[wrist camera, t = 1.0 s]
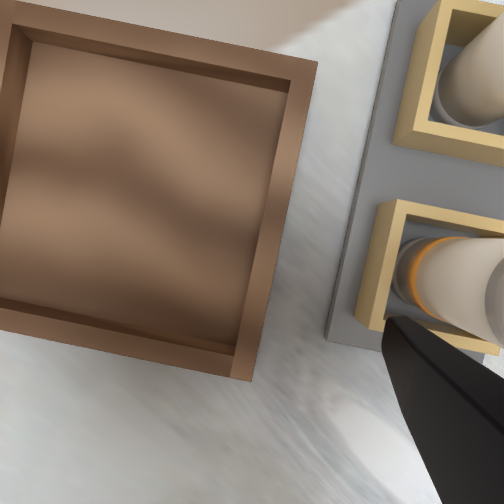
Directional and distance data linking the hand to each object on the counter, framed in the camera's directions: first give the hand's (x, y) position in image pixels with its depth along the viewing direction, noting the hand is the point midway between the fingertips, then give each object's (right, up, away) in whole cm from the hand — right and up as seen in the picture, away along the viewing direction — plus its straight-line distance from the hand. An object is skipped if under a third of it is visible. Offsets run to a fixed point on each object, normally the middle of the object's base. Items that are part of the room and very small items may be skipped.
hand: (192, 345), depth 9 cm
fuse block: (+12, +6, +14) cm, 20 cm away
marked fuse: (+11, +1, +13) cm, 18 cm away
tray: (-5, +5, +15) cm, 17 cm away
